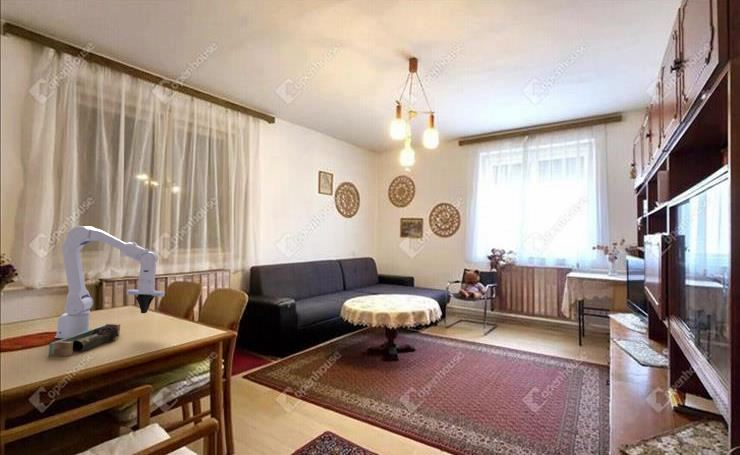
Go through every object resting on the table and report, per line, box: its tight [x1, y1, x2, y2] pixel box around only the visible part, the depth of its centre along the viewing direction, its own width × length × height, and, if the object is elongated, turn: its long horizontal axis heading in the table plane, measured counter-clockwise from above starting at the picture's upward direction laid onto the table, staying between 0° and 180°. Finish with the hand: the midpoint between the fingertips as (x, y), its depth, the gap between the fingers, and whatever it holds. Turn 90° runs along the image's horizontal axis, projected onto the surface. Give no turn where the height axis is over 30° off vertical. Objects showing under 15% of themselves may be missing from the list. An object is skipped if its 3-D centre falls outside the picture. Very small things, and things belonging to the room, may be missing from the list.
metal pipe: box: [72, 326, 120, 353], centre depth 136 cm, size 18×7×6 cm, turn 176°
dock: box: [48, 322, 121, 357], centre depth 135 cm, size 6×27×4 cm, turn 3°
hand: (143, 312), depth 151 cm, fingers closed
